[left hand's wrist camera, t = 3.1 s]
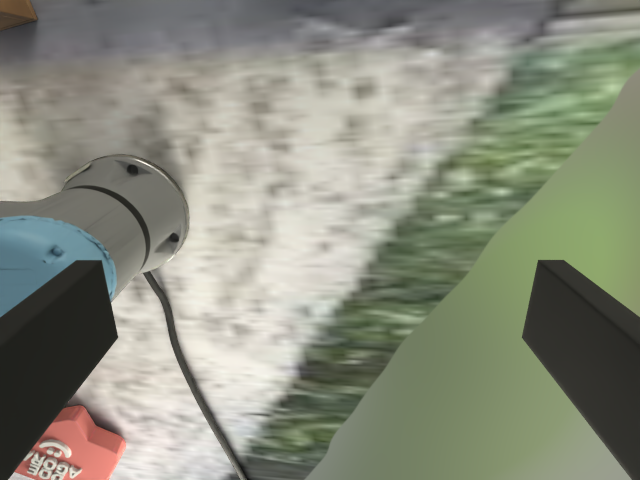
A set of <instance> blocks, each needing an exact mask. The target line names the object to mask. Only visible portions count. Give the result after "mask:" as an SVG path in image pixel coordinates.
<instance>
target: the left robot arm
mask: <svg viewBox="0 0 640 480" xmlns="http://www.w3.org/2000/svg"><path fill="white" fill-rule="evenodd" d="M117 338H118V335H117V330H116V325H115V320H114V316H113V311H112V306H111V301H110V297H109V292H108V287H107V282H106V278H105V273H104V268H103V263H102V260H76V261H74V262H73V263H72V264H70V265H69V266H68V267H66V268H65V269H64V270H62V271H61V272H60V273H58V274H57V275H56V276H55V277H53V278H52V279H51V280H49V281H48V282H47V283H45V284H44V285H43V286H41V287H40V288H39V289H37V290H36V291H35V292H33V293H32V294H31V295H29V296H28V297H27V298H25V299H24V300H23V301H21V302H20V303H19V304H17V305H16V306H15V307H13V308H12V309H11V310H9V311H8V312H7V313H5V314H4V315H3V316H1V317H0V480H8V479H9V478H10V477H11V475H12V474H13V473H14V471H15V470H16V469H17V467H18V466H19V465H20V464H21V462H22V461H23V460H24V458H25V457H26V456H27V455H28V453H29V452H30V451H31V449H32V448H33V447H34V446H35V444H36V443H37V442H38V440H39V439H40V438H41V436H42V435H43V434H44V433H45V431H46V430H47V429H48V427H49V426H50V425H51V424H52V422H53V421H54V420H55V418H56V417H57V416H58V414H59V413H60V412H61V411H62V409H63V408H64V407H65V405H66V404H67V403H68V402H69V400H70V399H71V398H72V396H73V395H74V394H75V393H76V391H77V390H78V389H79V387H80V386H81V385H82V383H83V382H84V381H85V380H86V378H87V377H88V376H89V374H90V373H91V372H92V371H93V369H94V368H95V367H96V365H97V364H98V363H99V362H100V360H101V359H102V358H103V356H104V355H105V354H106V352H107V351H108V350H109V349H110V347H111V346H112V345H113V343H114V342H115V341H116V340H117ZM522 338H523V340H524V341H525V342H526V343H527V345H528V346H529V347H530V349H531V350H532V351H533V352H534V354H535V355H536V356H537V358H538V359H539V360H540V362H541V363H542V364H543V365H544V367H545V368H546V369H547V371H548V372H549V373H550V374H551V376H552V377H553V378H554V380H555V381H556V382H557V383H558V385H559V386H560V387H561V389H562V390H563V391H564V393H565V394H566V395H567V396H568V398H569V399H570V400H571V401H572V403H573V404H574V405H575V407H576V408H577V409H578V411H579V412H580V413H581V414H582V416H583V417H584V418H585V420H586V421H587V422H588V424H589V425H590V426H591V427H592V429H593V430H594V431H595V433H596V434H597V435H598V436H599V438H600V439H601V440H602V442H603V443H604V444H605V445H606V447H607V448H608V449H609V451H610V452H611V453H612V455H613V456H614V457H615V458H616V460H617V461H618V462H619V463H620V465H621V466H622V467H623V469H624V470H625V471H626V473H627V474H628V475H629V477H630V478H631V479H632V480H640V317H639V316H637V315H636V314H635V313H633V312H632V311H631V310H629V309H628V308H627V307H625V306H624V305H623V304H621V303H620V302H619V301H617V300H616V299H615V298H613V297H612V296H611V295H609V294H608V293H607V292H605V291H604V290H603V289H601V288H600V287H599V286H597V285H596V284H595V283H593V282H592V281H591V280H589V279H588V278H587V277H585V276H584V275H583V274H582V273H580V272H579V271H578V270H576V269H575V268H573V267H572V266H571V265H569V264H568V263H567V262H566V261H564V260H538V263H537V268H536V273H535V278H534V282H533V287H532V292H531V297H530V301H529V307H528V311H527V316H526V321H525V326H524V330H523V335H522Z"/></svg>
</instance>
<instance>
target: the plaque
mask: <svg viewBox="0 0 640 480" xmlns="http://www.w3.org/2000/svg"><path fill="white" fill-rule="evenodd" d="M125 447H126V442H125V440H124V439H123V438H122V437H121V436H119V435H117V434H114V433H112V432H110V431H107V430H105V429H102V428H100V427H97V426H96V425H95V423H94V422H93V420H92V418H91V417H90V415H89V414H88V412H87V410H86V409H85V408H84V407H83V406H81V405H76V406H72V407H67V408H63V409H62V411H61V412H60V413H59V414H58V416H57V417H56V418H55V420H54V421H53V422H52V424H51V425H50V426H49V427H48V429H47V430H46V431H45V433H44V434H43V435H42V436H41V438H40V439H39V440H38V442H37V443H36V444H35V446H34V447H33V448H32V449H31V451H30V452H29V453H28V455H27V456H26V457H25V458H24V460H23V461H22V462H21V464H20V465H19V466H18V467H17V469H16V470H15V471H14V472H16V473H19V474H22V475H24V476H27V477H30V478H32V479H35V480H108V479H109V478H110V476H111V474H112V472H113V470H114V469H115V467H116V465H117V463H118V461H119V459H120V458H121V456H122V454H123V452H124V450H125Z"/></svg>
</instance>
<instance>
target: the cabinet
mask: <svg viewBox="0 0 640 480" xmlns="http://www.w3.org/2000/svg"><path fill="white" fill-rule="evenodd" d="M35 20H38V19H37V16H36V14H35V12H34V10H33V7H32V5H31V3H30V0H0V31H2V30H5V29H9V28H12V27H15V26H19V25H22V24H25V23H29V22H32V21H35Z"/></svg>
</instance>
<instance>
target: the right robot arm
mask: <svg viewBox="0 0 640 480" xmlns="http://www.w3.org/2000/svg"><path fill="white" fill-rule="evenodd" d="M66 181H68V182H67V183H66V185H65V186H64V188H63V189H62V191H61V192H59V193H57V194H55V195H52V196H50V197H47V198H45V199H43V200H39V201H32V202H13V201H0V317H1V316H3V315H4V314H5V313H7V312H8V311H9V310H11V309H12V308H13V307H15V306H16V305H17V304H19V303H20V302H21V301H23V300H24V299H25V298H27V297H28V296H29V295H31V294H32V293H33V292H35V291H36V290H37V289H39V288H40V287H41V286H43V285H44V284H45V283H47V282H48V281H49V280H51V279H52V278H53V277H55V276H56V275H57V274H58V273H60V272H61V271H62V270H64V269H65V268H66V267H68V266H69V265H70V264H72V263H73V262H74V261H76V260H102V263H103V268H104V273H105V278H106V282H107V287H108V292H109V297H110V301H111V302H112V301H113V300H114V299H115V297H116V296H117V295H118V294H119V293H120V292H121V291H122V290H123V288H124V287H125V286H126V285H127V284H128V283H129V282H130V281H131V280H132V279H133V278H134V277H135V276H136V275H138V274H141V273H143V274H144V276H145V277H146V279H147V281H148V282H149V284H150V286H151V287H152V289H153V290H154V292H155V293H156V294H157V296H158V297H159V299H160V301H161V303H162V306H163V309H164V312H165V316H166V321H167V326H168V332H169V336H170V340H171V344H172V347H173V350H174V353H175V355H176V358H177V361H178V363H179V365H180V368H181V370H182V372H183V374H184V376H185V378H186V381H187V383H188V385H189V387H190V389H191V391H192V393H193V395H194V397H195V399H196V401H197V403H198V405H199V407H200V409H201V410H202V412H203V414H204V416H205V418H206V420H207V421H208V423H209V425H210V427H211V429H212V430H213V432H214V434H215V436H216V437H217V439H218V441H219V442H220V444H221V446H222V448H223V449H224V451H225V453H226V454H227V456H228V458H229V460H230V462H231V463H232V465H233V467H234V469H235V470H236V472H237V474H238V476H239V478H240V479H241V480H247V479H246V477H245V475H244V473H243V471H242V469H241V468H240V466H239V464H238V462H237V460H236V459H235V457H234V455H233V453H232V452H231V450H230V448H229V446H228V444H227V443H226V441H225V439H224V438H223V436H222V434H221V432H220V431H219V429H218V427H217V425H216V423H215V422H214V420H213V418H212V416H211V414H210V412H209V411H208V409H207V407H206V405H205V403H204V401H203V399H202V397H201V395H200V393H199V391H198V389H197V387H196V385H195V383H194V381H193V378H192V376H191V374H190V372H189V370H188V368H187V365H186V363H185V361H184V358H183V355H182V353H181V350H180V347H179V344H178V341H177V337H176V333H175V327H174V321H173V316H172V312H171V308H170V305H169V302H168V300H167V298H166V296H165V294H164V292H163V291H162V289H161V288H160V287H159V285H158V284H157V282H156V280H155V279H154V277H153V275H152V274H151V272H150V271H151V270H154V269H156V268H158V267H160V266H161V265H163V264H164V263H166V262H167V261H169V260H170V259H171V258H172V257H173V256H174V255H175V254H176V253H177V252H178V250H179V249H180V248H181V246H182V245H183V243H184V241H185V239H186V236H187V233H188V229H189V212H188V207H187V203H186V200H185V198H184V195H183V194H182V192H181V190H180V188H179V187H178V185H177V184H176V183H175V181H174V180H173V179H172V178H171V177H170V176H169V175H168V174H167V173H166V172H165V171H164V170H162V169H161V168H160V167H158V166H157V165H155V164H153V163H151V162H149V161H147V160H145V159H142V158H139V157H136V156H131V155H120V154H117V155H109V156H104V157H101V158H98V159H95V160H93V161H91V162H89V163H87V164H85V165H84V166H82V167H81V168H80V169H78V170H77V171H76V172H75V173H73V174H72V175H70V176H68V177H67V179H66V180H65V181H64V182H66Z"/></svg>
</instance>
